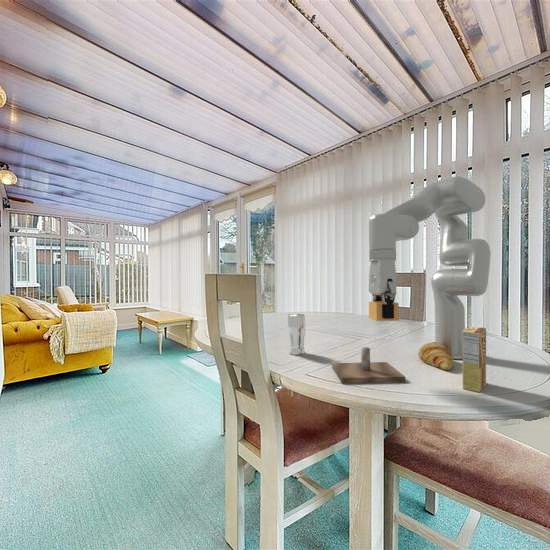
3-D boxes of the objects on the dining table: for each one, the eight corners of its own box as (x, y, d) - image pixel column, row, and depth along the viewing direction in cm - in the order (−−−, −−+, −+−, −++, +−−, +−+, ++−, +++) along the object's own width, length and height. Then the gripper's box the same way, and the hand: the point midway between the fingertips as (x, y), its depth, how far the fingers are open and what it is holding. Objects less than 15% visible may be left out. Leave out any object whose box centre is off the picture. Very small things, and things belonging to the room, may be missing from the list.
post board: (386, 366, 98) (386, 342, 98) (405, 381, 84) (404, 353, 84) (332, 367, 98) (331, 343, 98) (341, 383, 84) (341, 355, 84)
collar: (389, 317, 92) (389, 301, 92) (398, 320, 86) (398, 303, 86) (368, 317, 92) (368, 301, 92) (376, 320, 86) (376, 303, 86)
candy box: (469, 379, 85) (468, 326, 85) (487, 383, 82) (486, 327, 82) (462, 388, 79) (461, 330, 79) (481, 393, 76) (480, 332, 76)
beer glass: (305, 350, 120) (305, 313, 120) (306, 355, 114) (305, 316, 113) (288, 350, 121) (287, 313, 121) (287, 355, 114) (286, 316, 114)
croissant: (458, 384, 92) (471, 361, 91) (428, 368, 92) (440, 345, 92) (431, 362, 113) (441, 343, 112) (406, 349, 114) (416, 330, 113)
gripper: (360, 258, 98) (361, 313, 98) (381, 254, 80) (382, 321, 80) (383, 257, 98) (384, 312, 98) (408, 254, 81) (409, 321, 80)
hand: (383, 316), depth 89 cm, fingers closed on collar, 6 cm apart
